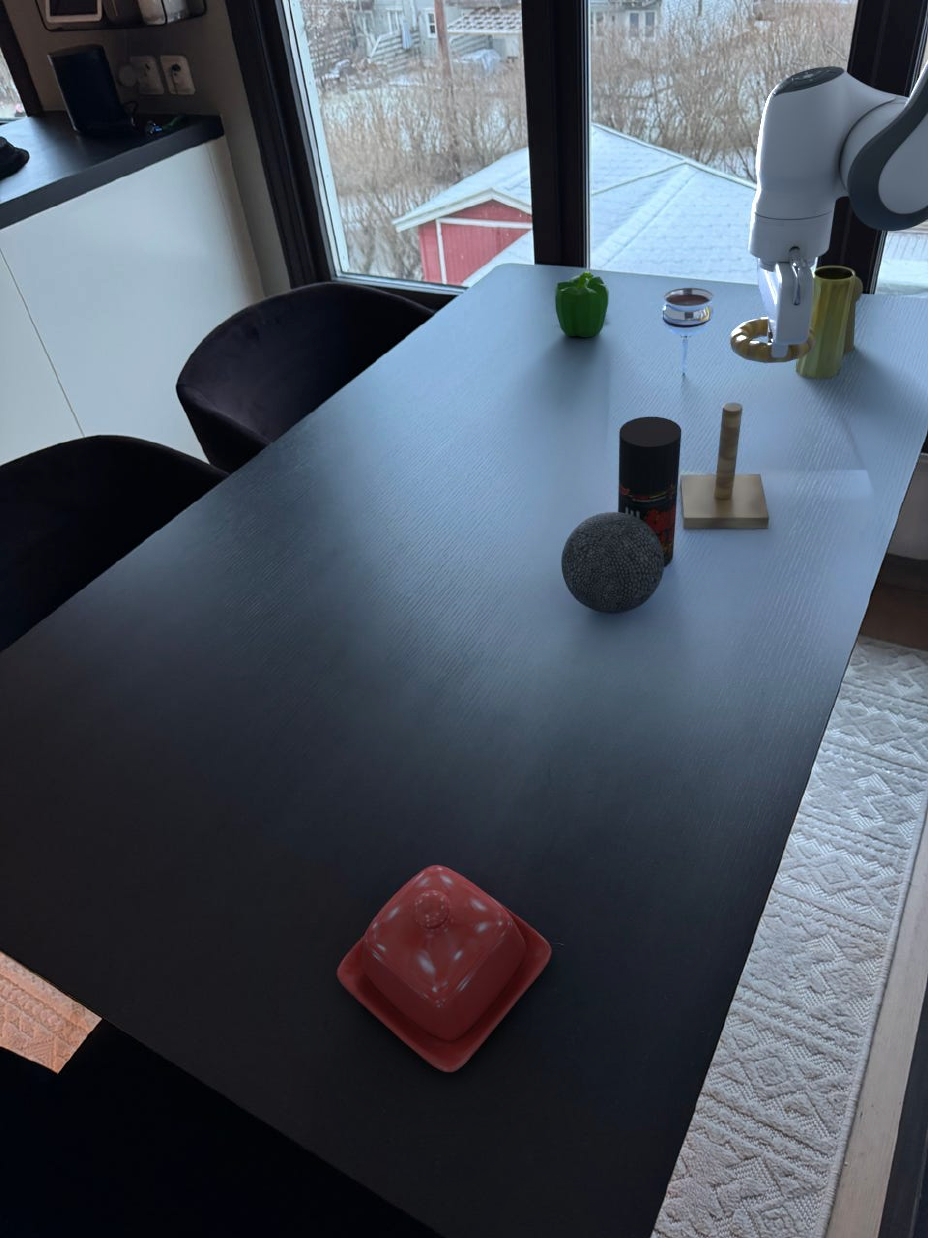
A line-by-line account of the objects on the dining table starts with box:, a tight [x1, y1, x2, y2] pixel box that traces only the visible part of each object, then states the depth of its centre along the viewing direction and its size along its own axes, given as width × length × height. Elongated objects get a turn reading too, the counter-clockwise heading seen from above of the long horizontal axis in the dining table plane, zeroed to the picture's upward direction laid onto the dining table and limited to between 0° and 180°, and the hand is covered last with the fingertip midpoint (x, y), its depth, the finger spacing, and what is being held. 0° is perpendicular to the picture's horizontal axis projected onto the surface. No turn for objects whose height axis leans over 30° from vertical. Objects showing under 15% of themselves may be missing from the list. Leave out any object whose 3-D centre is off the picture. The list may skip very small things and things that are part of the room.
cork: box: [843, 275, 864, 355], centre depth 123 cm, size 6×6×11 cm
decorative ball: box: [560, 511, 665, 614], centre depth 87 cm, size 10×10×10 cm
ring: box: [729, 317, 816, 364], centre depth 114 cm, size 10×10×2 cm
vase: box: [794, 265, 856, 379], centre depth 118 cm, size 6×6×14 cm
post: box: [679, 402, 770, 530], centre depth 97 cm, size 9×9×12 cm
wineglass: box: [661, 286, 715, 375], centre depth 121 cm, size 7×7×12 cm
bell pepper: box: [554, 270, 610, 338], centre depth 138 cm, size 8×8×10 cm
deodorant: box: [617, 416, 682, 568], centre depth 91 cm, size 6×6×15 cm
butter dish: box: [336, 864, 553, 1073], centre depth 59 cm, size 12×12×8 cm
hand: (776, 348), depth 110 cm, fingers closed on ring, 2 cm apart
